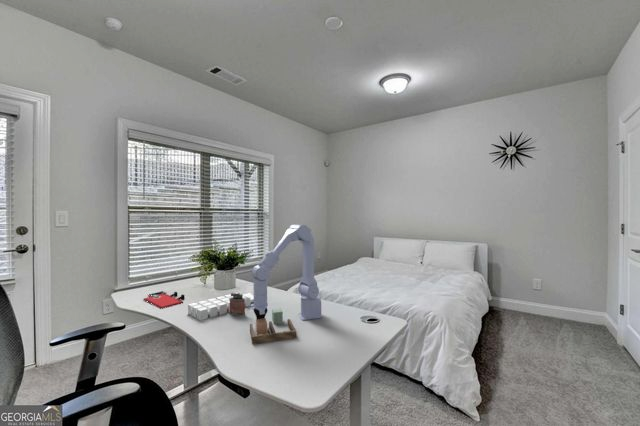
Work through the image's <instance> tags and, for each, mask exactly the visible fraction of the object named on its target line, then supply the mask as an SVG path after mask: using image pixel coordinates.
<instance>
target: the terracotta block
mask: <svg viewBox="0 0 640 426" xmlns="http://www.w3.org/2000/svg"><path fill="white" fill-rule="evenodd" d="M255 332H256V335H259V334H263V335H264V334H266V333H268V321H267V319H266V317H265V318H263V319H257V318H255Z"/></svg>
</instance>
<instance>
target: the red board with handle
mask: <svg viewBox="0 0 640 426" xmlns="http://www.w3.org/2000/svg"><path fill="white" fill-rule="evenodd" d="M149 295H152V297H151V296H149ZM149 295H148V297H144V298H143V301H144V300H146V301H148V302H150V303H152V304H154V305H156V306H157V308H158V307H159V309H161V308H162V309H165V307H166V308H170V307H174V306H176V305H177V304H178V305H180V304H181V303H182V304H184V301H182V300H185V294H181V295H180V296H178V292H177V291H174V292H173V293H172V294H170V295H169V294H168V293H167V292H165V291H163V290H162V291H158V292H153V293H149ZM175 296H177V297H175ZM146 301H145V302H146ZM148 302H147V303H148ZM150 303H149V304H150ZM152 304H151V305H152ZM154 305H153V306H154ZM173 305H174V306H173ZM156 306H155V307H156ZM169 306H170V307H169Z"/></svg>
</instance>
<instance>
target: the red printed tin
mask: <svg viewBox="0 0 640 426" xmlns="http://www.w3.org/2000/svg"><path fill="white" fill-rule="evenodd" d="M236 293H237V294H236ZM230 294H231V296H233V297H231V298H229V300H230V312H229V313H228V314H229V315H230V316H231V315H233V316H244V315H246V312H245V311H246V309H245V308H246V307H245V298H242V297H243V294H244V293H243V294H242V293H240V292H231V293H230Z"/></svg>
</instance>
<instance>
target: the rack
mask: <svg viewBox="0 0 640 426" xmlns="http://www.w3.org/2000/svg"><path fill="white" fill-rule="evenodd" d="M286 323H287V327H288V329H289V330H288V331H287V330H283V331H279V332H277V331H276V330H275V326H274V323H273V321H268V329H269V331H270V333H269V332H267V333H266V334H264V335H263V334H259V335H257V334H256V335H255V330H254V326H253V323H249V334H250V339H251V344H252V345H254V344H262V343H268V342H276V341H283V340H290V339H291V340H292V339H296V338H297V336H298V335H297V330H296V328H295V325H294V324H293V322H292V321H291V319H290V318H288V319H287V321H286Z"/></svg>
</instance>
